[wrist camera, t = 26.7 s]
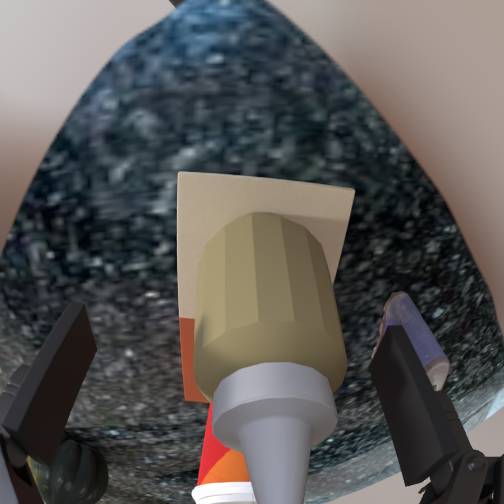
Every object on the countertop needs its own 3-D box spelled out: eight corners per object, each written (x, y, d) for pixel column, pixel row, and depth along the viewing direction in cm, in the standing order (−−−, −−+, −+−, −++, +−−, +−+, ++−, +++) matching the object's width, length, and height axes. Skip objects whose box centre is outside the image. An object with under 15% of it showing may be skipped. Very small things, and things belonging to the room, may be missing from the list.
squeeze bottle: (181, 234, 22) (92, 494, 6) (280, 172, 20) (377, 442, 4) (244, 311, 25) (244, 544, 10) (334, 263, 24) (426, 499, 8)
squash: (61, 443, 30) (12, 501, 23) (137, 485, 37) (90, 536, 29) (46, 400, 41) (4, 451, 33) (106, 443, 47) (66, 489, 40)
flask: (386, 290, 26) (439, 384, 16) (415, 287, 26) (473, 375, 16) (367, 363, 30) (397, 451, 20) (392, 359, 30) (427, 442, 20)
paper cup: (298, 379, 30) (317, 510, 17) (239, 407, 32) (238, 525, 19) (248, 337, 27) (251, 492, 14) (187, 371, 29) (167, 505, 16)
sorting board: (179, 171, 21) (177, 173, 20) (352, 188, 21) (355, 190, 21) (185, 396, 32) (185, 400, 31) (294, 402, 32) (295, 406, 32)
